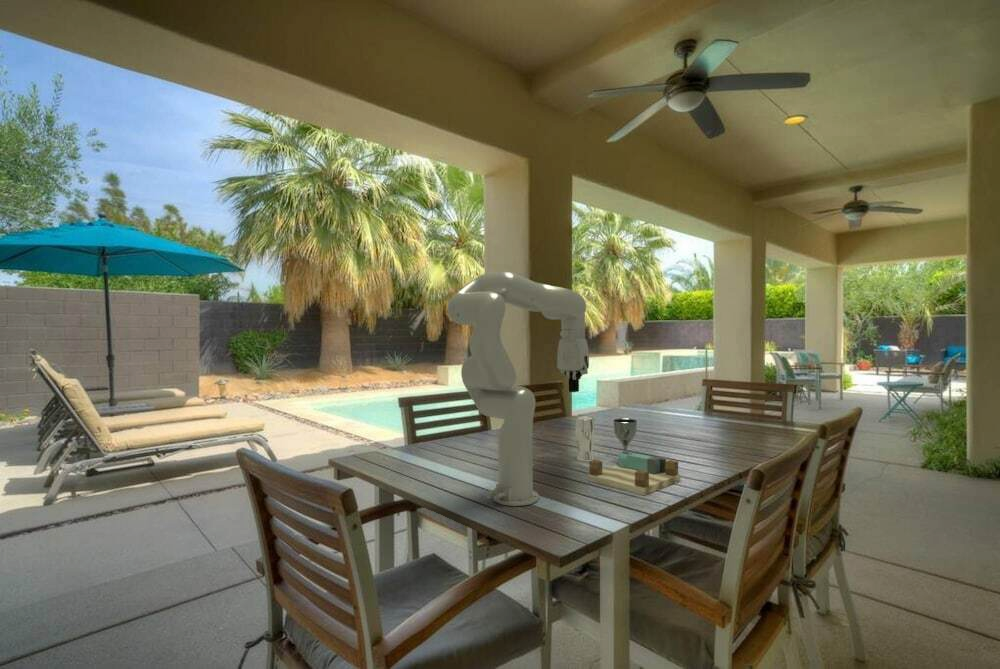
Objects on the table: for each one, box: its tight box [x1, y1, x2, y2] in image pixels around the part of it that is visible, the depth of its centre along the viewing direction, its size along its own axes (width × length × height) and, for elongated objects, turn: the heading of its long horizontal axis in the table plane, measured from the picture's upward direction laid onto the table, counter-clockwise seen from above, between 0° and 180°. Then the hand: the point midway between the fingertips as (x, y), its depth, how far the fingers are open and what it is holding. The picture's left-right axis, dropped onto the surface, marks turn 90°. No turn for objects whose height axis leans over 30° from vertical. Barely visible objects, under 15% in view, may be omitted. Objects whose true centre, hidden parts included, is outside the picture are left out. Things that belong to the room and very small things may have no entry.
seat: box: [587, 456, 681, 496], centre depth 158 cm, size 20×20×6 cm
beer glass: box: [574, 416, 596, 463], centre depth 185 cm, size 7×7×15 cm
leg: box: [618, 450, 660, 474], centre depth 164 cm, size 14×4×5 cm, turn 42°
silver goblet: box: [613, 418, 638, 465], centre depth 179 cm, size 8×8×15 cm
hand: (573, 391), depth 165 cm, fingers closed
